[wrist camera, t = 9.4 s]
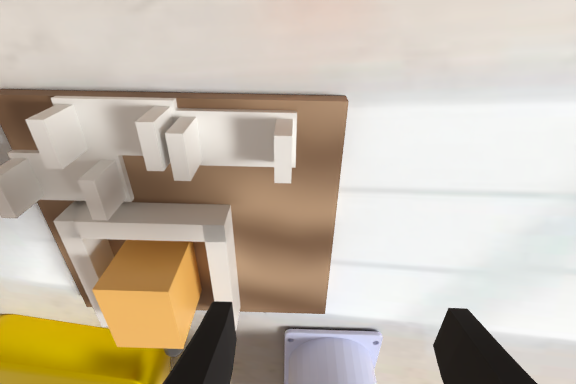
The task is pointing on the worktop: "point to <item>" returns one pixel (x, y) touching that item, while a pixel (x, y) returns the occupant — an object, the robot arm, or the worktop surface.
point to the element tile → (72, 355)
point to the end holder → (151, 226)
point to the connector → (150, 294)
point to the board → (235, 196)
